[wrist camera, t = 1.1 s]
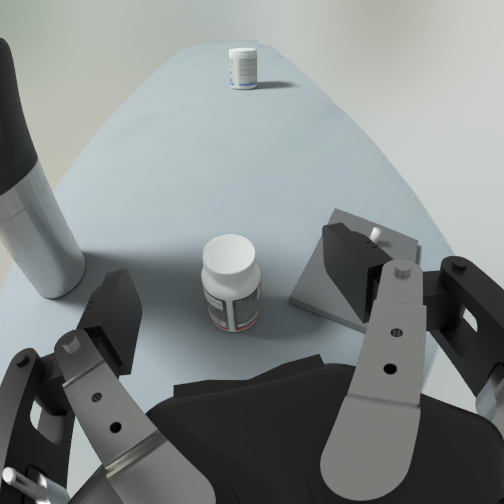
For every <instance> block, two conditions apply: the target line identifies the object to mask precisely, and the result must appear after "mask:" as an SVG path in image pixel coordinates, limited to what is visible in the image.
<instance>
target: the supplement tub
mask: <svg viewBox="0 0 504 504" xmlns="http://www.w3.org/2000/svg"><path fill="white" fill-rule="evenodd" d="M229 69H230V86H231V87H232V88H233V89H239V90H242V89H244V90H247V89H253V88H255V87H256V86H257V50H256V49H254V48H235V49H230V50H229Z"/></svg>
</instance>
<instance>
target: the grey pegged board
mask: <svg viewBox="0 0 504 504" xmlns="http://www.w3.org/2000/svg"><path fill="white" fill-rule="evenodd" d="M339 222H342V223H343V224H344V225H345V226H347V227H348V228H349V229H350V230H351V231H352V232H353V231H356V232H359V233H362V234H364V235H366V236H367V237H368V238H370V239H371V240H372V242H374V243H376V244H377V245H378V247H380V248H381V249H382V250H384V251H385V252H386V253H387V254H388V255H389V256H390V257H392V258H393V259H394V260H397V259H402V260H408V261H412V262H414V263H415V262H416V254H417V244H418V240H416V239H413V238H411V237H408V236H406V235H404V234H401V233H399V232H396V231H394V230H391V229H389V228H386V227H384V226H381V225H379V224H376V223H373V222H371V221H368V220H366V219H363V218H360V217H358V216H355V215H352V214H349V213H347V212H344V211H341V210H338V209H336V208H335V209H334V212H333V214H332V216H331V218H330V220H329V222H328V224H327V225H329V224H334V223H339ZM289 303H291V304H294V305H296V306H298V307H301V308H303V309H306V310H308V311H310V312H313V313H315V314H318V315H320V316H322V317H325V318H327V319H330V320H332V321H335V322H337V323H340V324H342V325H345V326H347V327H350V328H352V329H355V330H357V331H360V332H362V333H365V334H366V331H367V327H368V323H369V322H367V323H364V324H363V323H362V322H361V320H360V319H359V317H358V316H357V315H356V313H355V312H354V310H353V309H352V307H351V306H350V305H349V303H348V302H347V300H346V299H345V298H344V296H343V295H342V293H341V292H340V291H339V289H338V288H337V286H336V285H335V284H334V282H333V281H332V280H331V278H330V277H329V276H328V274H327V272H326V269H325V266H324V258H323V237H322V236H321V238H320V240H319V242H318V244H317V246H316V248H315V250H314V252H313V254H312V256H311V258H310V260H309V262H308V264H307V266H306V268H305V270H304V271H303V273H302V275H301V277H300V279H299V281H298V283H297V285H296V287H295V289H294V290H293V292H292V294H291V296H290V300H289Z"/></svg>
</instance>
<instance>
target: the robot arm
mask: <svg viewBox="0 0 504 504" xmlns="http://www.w3.org/2000/svg"><path fill="white" fill-rule="evenodd" d="M322 237H323V258H324V266H325V269H326V272H327V274H328V276H329V277H330V278H331V280H332V281H333V282H334V284H335V285H336V286H337V288H338V289H339V291H340V292H341V293H342V295H343V296H344V298H345V299H346V300H347V302H348V303H349V305H350V306H351V307H352V309H353V310H354V312H355V313H356V315H357V316H358V317H359V319H360V320H361V322H362V323H363V324H364V323H367V322H369V323H368V327H367V331H366V335H365V339H364V342H363V346H362V349H361V353H360V356H359V359H358V363H357V366H351V365H346V364H334V363H328V364H324V363H323V361H322V359H321V357H320V355H319V354H317V355H314V356H310V357H307V358H303V359H299V360H296V361H292V362H288V363H284V364H282V365H280V366H278V367H276V368H274V369H271V370H269V371H267V372H265V373H263V374H261V375H258V376H256V377H254V378H252V379H249V380H205V381H199V382H193V383H186V384H179V385H174V395H173V397H170V398H168V399H166V400H164V401H162V402H160V403H159V404H157V405H155V406H154V407H153V408H151V409H150V410H149V411H148V412H147V413H146V414H145V413H144V412H143V411H142V410H141V409H140V407H139V406H138V405H137V404H136V402H135V401H134V400H133V399H132V397H131V396H130V395H129V394H128V392H127V391H126V390H125V388H124V387H123V386H122V384H121V383H120V382H119V376H120V375H129V374H131V370H132V364H133V359H134V353H135V348H136V342H137V337H138V332H139V327H140V322H141V318H142V306H141V302H140V299H139V297H138V295H137V292H136V290H135V287H134V285H133V283H132V280H131V278H130V275H129V273H128V271H127V270H126V269H121V270H117V271H113V272H108V273H107V275H106V277H105V279H104V282H103V284H102V286H100V287H99V288H98V289H97V290H96V291H95V292H94V293H93V294H92V295H91V298H90V300H89V302H88V304H87V306H86V308H85V311H84V313H83V315H82V317H81V319H80V322H79V324H78V326H77V328H76V330H72V331H70V332H68V333H66V334H64V335H63V336H62V337H61V338H60V339H59V340H58V341H57V343H56V345H55V347H54V353H51V354H49V355H46V356H44V357H41V358H40V356H39V355H38V354H37V352H36V351H35V350H34V349H33V348H27V349H24V350H22V351H20V352H19V353H17V354H16V355H15V356H14V358H13V359H12V360H11V362H10V364H9V367H8V369H7V371H6V374H5V376H4V378H3V381H2V383H1V386H0V504H504V290H503V289H502V288H501V287H500V286H499V285H498V284H497V283H496V282H494V281H493V280H492V279H491V278H490V277H489V276H488V275H486V274H485V273H484V272H483V271H482V270H481V269H479V268H478V267H477V266H476V265H474V264H473V263H472V262H471V261H469V260H468V259H465V258H463V257H459V256H449V257H446V258H444V259H443V260H442V262H441V267H440V271H427V272H422V269H421V268H420V266H419V265H417V264H416V263H414V262H412V261H408V260H402V259H397V260H394V259H393V258H392V257H390V256H389V255H388V254H387V253H386V252H385V251H384V250H382V249H381V248H380V247H378V245H377V244H376V243H374V242H372V240H371V239H370V238H368V237H367V236H366V235H364V234H362V233H359V232H356V231H353V232H352V231H351V230H350V229H349V228H348V227H347V226H345V225H344V224H343V223H342V222H339V223H334V224H329V225H324V226H323V229H322ZM0 240H1V241H2V243H3V245H4V246H5V248H6V249H7V251H8V252H9V253H10V255H11V256H12V258H13V259H14V261H15V262H16V263H17V265H18V266H19V268H20V269H21V270H22V272H23V273H24V274H25V276H26V277H27V279H28V280H29V281H30V282H31V284H32V285H33V286H34V287H35V289H36V290H37V291H38V292H39V294H40V295H41V296H43V297H45V298H57V297H61V296H63V295H65V294H67V293H68V292H69V291H71V290H72V289H73V288H74V287H75V286H76V285H77V284H78V283H79V281H80V280H81V278H82V276H83V274H84V271H85V267H86V260H85V257H84V255H83V253H82V251H81V250H80V248H79V246H78V244H77V242H76V240H75V238H74V236H73V234H72V232H71V230H70V228H69V226H68V224H67V222H66V220H65V218H64V216H63V214H62V212H61V210H60V208H59V206H58V204H57V202H56V199H55V197H54V195H53V193H52V191H51V188H50V186H49V183H48V181H47V179H46V176H45V174H44V172H43V169H42V167H41V164H40V162H39V159H38V156H37V153H36V151H35V148H34V145H33V142H32V140H31V137H30V134H29V131H28V128H27V124H26V121H25V118H24V114H23V111H22V106H21V102H20V97H19V92H18V86H17V80H16V74H15V68H14V62H13V58H12V54H11V50H10V47H9V45H8V43H7V42H6V41H5V40H4V39H3V38H0ZM466 308H467V310H468V311H469V312H470V313H471V314H472V315H473V316H474V317H475V319H476V321H477V332H476V331H475V330H474V329H473V328H472V327H471V326H470V325H469V323H468V322H467V321H466V320H465V319H464V318H463V315H464V311H465V309H466ZM426 331H429V332H430V333H431V335H432V336H433V337H434V339H435V340H436V341H437V343H438V344H439V345H440V347H441V348H442V349H443V351H444V352H445V354H446V355H447V356H448V358H449V359H450V360H451V362H452V363H453V365H454V366H455V367H456V369H457V370H458V372H459V373H460V374H461V376H462V378H463V379H464V381H465V382H466V384H467V385H468V387H469V388H470V390H471V391H472V393H473V394H474V396H475V397H476V410H477V413H478V414H475V413H472V412H469V411H467V410H464V409H461V408H458V407H455V406H453V405H450V404H448V403H445V402H442V401H440V400H437V399H435V398H432V397H429V396H427V395H424V394H422V393H421V385H422V377H423V367H424V356H425V340H426ZM34 400H35V401H36V402H37V404H38V405H39V406H40V407H41V408H42V411H41V415H40V419H39V423H38V428H37V430H36V429H35V428H34V426H33V425H32V423H31V420H30V412H31V409H32V405H33V402H34ZM75 415H76V417H77V419H78V421H79V423H80V425H81V427H82V429H83V431H84V432H85V435H86V436H87V438H88V440H89V442H90V444H91V445H92V447H93V449H94V451H95V452H96V454H97V456H98V457H99V459H100V461H101V462H102V465H100V467H99V468H98V469H97V470H96V471H95V472H94V474H93V475H92V476H91V477H90V478H89V479H88V480H87V481H86V483H85V484H84V485H83V486H82V487H81V488H80V489H79V491H78V492H77V493H76V494H75V495H74V496H73V497H72V498H71V499H70V497H69V494H68V492H67V491H66V488H67V475H68V464H69V455H70V447H71V439H72V433H73V426H74V421H75Z"/></svg>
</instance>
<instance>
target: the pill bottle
mask: <svg viewBox="0 0 504 504" xmlns="http://www.w3.org/2000/svg"><path fill="white" fill-rule="evenodd" d="M202 257H203V265H204V266H203V268H202V272H201V279H202V285H203V289H204V294H205V298H206V303H207V307H208V311H209V315H210V318H211V320H212V321H213V323H214V324H215V325H216V326H217V327H219V328H220V329H222V330H225V331H229V332H238V331H242V330H245V329H247V328H249V327H250V326H252V325H253V324H254V323H255V321H256V320H257V318H258V316H259V311H260V290H261V270H260V267H259V264H258V263H257V261H256V251H255V248H254V246H253V244H252V243H251V242H250V241H249V240H248V239H246V238H245V237H242V236H239V235H235V234H226V235H221V236H218V237H215V238H213V239H212V240H210V241H209V242H208V243H207V244H206V246H205V247H204V250H203V254H202Z"/></svg>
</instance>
